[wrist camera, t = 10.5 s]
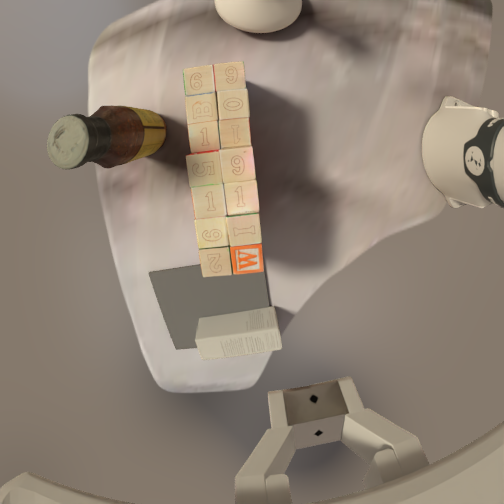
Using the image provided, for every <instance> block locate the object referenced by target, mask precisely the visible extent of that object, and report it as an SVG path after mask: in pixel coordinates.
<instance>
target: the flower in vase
mask: <svg viewBox="0 0 504 504" xmlns="http://www.w3.org/2000/svg"><path fill="white" fill-rule="evenodd" d="M215 7H216V10H217V12H218V14H219V15H220V16H221V18H222V19H223V20H224V21H226V22H227V23H228V24H230V25H231V26H233V27H235V28H237V29H240V30H243V31H247V32H253V33H268V32H274V31H278V30H281V29H283V28H285V27H287V26H289V25H290V24H292V23H293V22H294V21H295V20H296V19H297V17H298V16H299V14H300V12H301V8H302V0H215Z"/></svg>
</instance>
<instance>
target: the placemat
mask: <svg viewBox="0 0 504 504" xmlns="http://www.w3.org/2000/svg"><path fill="white" fill-rule="evenodd" d="M149 276H150V279H151V282H152V285H153V288H154V291H155V294H156V297H157V300H158V303H159V306H160V309H161V311H162V314H163V317H164V320H165V322H166V325H167V328H168V330H169V333H170V336H171V338H172V341H173V343H174V346H175V348H176V350H177V349H189V348H197V345H196V342H195V338H196V330H197V326H198V323H199V318H203V317H210V316H217V315H223V314H230V313H236V312H242V311H248V310H254V309H260V308H266V307H270V306H269V300H268V293H267V286H266V279H265V273H264V271H263V272H257V273H247V274H233V273H232V275H226V276H212V277H203V275H202V270H201V264H199V265H192V266H186V267H179V268H173V269H166V270H160V271H153V272H149Z"/></svg>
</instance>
